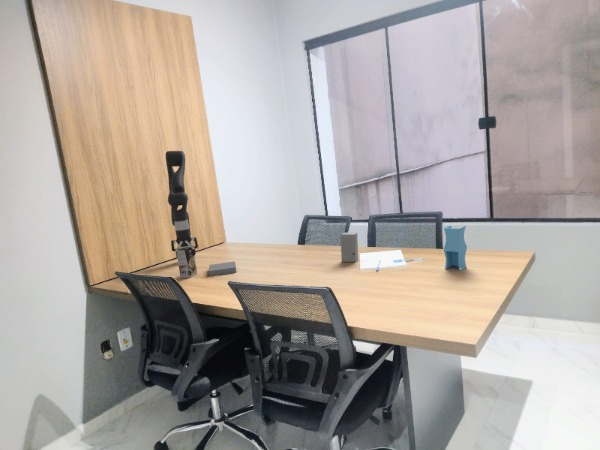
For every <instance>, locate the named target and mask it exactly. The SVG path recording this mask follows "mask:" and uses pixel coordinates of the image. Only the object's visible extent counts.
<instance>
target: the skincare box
mask: <svg viewBox="0 0 600 450" xmlns="http://www.w3.org/2000/svg"><path fill="white" fill-rule="evenodd" d="M358 241H359V239H358V232H342V233H340V248H341V249H340V251H341V252H340V253H341V255H340V256H341V262H342V263H357V261H358V260H359V247H358V246H359V243H358Z"/></svg>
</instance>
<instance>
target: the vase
mask: <svg viewBox="0 0 600 450" xmlns="http://www.w3.org/2000/svg"><path fill="white" fill-rule="evenodd" d="M466 227H467V226H466V225H463V226H461V227H457V228H456V227H455V228H453V227H452V225H451V224H450V225H447V226H445V227H443V229H444V233H445V243H444V248H443V253H444V256H445V266H444V270H447V269H450V268H451V267H458V271H459V272H462V271H463V270H465V269H466V268H467V264H466V254H467V248H468V247H467V246H468V245H467V244H466V242H465V231H466ZM460 268H461V269H460Z"/></svg>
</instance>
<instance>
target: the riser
mask: <svg viewBox="0 0 600 450" xmlns="http://www.w3.org/2000/svg"><path fill="white" fill-rule="evenodd" d="M235 273H237V266H236V261H234V260H233V261H229V262H221V263H220V262H219V263H214V264H209V266H208V275H209V277H215V276H220V275H221V276H222V275H228V274H235Z"/></svg>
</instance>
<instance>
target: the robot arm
mask: <svg viewBox="0 0 600 450" xmlns="http://www.w3.org/2000/svg"><path fill="white" fill-rule="evenodd" d="M165 163H166V170H167V177H168V191H169V194H168V197H167V203H168V205H169V206H170V212H171V215H170V216H171V223H172V225H173V227H174V229H175V239H172V240H171V241H170V245H171V246H170V247H171V251H172V252H175V256H176V258H178V257H177V250H179V249H181V248H183V247H191V248H192V249H193V256H195V257H196V255H197V252H196V249H198V248H199V243H198V239H197V237H196V236H195V237H192V234H191V233H192V232H191V226H190V225H191V224H190V215H189V212H188V211H187V209H188V208H187V207H188V200H189V197H188V195H187V193H186V188H185V181H184V180H185V170H186V153H185V152H184V151H183V150H168V151H166V152H165ZM174 167H176V168H177V167H178V168H177V170H176V171H175V170H174ZM180 206H181V208H179V207H180ZM178 208H179V209H178ZM193 243H194V245H195V246H194V245H193ZM175 244H177V247H176V248H175Z"/></svg>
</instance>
